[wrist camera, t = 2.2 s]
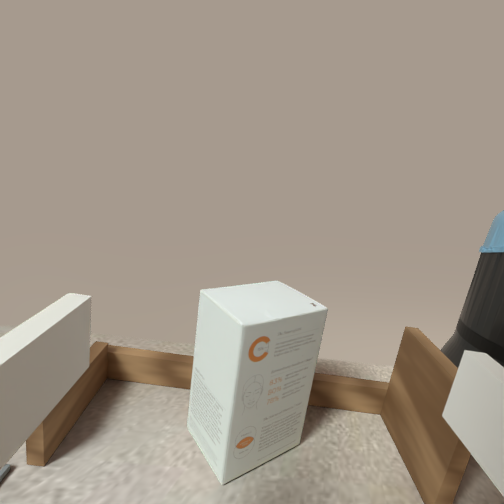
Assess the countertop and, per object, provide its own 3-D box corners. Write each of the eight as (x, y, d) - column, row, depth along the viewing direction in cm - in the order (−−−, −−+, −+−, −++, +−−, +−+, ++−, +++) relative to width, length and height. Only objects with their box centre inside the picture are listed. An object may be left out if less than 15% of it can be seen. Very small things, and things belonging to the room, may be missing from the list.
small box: (258, 399, 33) (278, 278, 30) (301, 445, 28) (331, 307, 25) (183, 427, 28) (198, 287, 25) (219, 489, 23) (244, 325, 20)
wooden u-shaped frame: (387, 407, 34) (412, 322, 32) (446, 517, 24) (491, 401, 21) (100, 369, 34) (103, 279, 31) (26, 464, 23) (21, 338, 21)
